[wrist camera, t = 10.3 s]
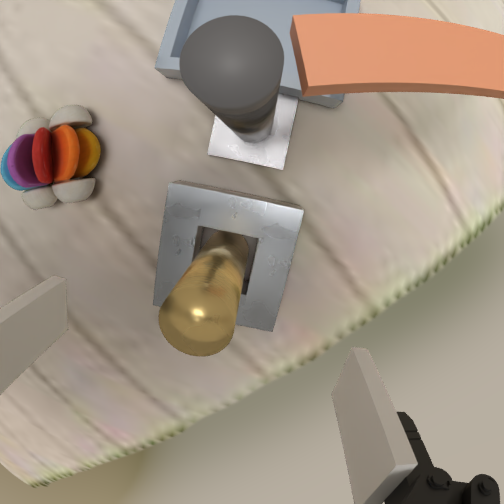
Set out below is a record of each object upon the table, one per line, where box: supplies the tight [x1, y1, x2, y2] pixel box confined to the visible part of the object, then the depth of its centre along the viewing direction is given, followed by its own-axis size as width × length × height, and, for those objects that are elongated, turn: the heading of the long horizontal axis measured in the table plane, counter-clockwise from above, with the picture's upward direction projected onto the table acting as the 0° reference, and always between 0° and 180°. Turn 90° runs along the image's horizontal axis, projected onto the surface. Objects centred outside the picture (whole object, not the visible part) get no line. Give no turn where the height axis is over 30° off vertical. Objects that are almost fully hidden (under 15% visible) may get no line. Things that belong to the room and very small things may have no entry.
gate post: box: [207, 82, 299, 170], centre depth 17 cm, size 6×6×16 cm
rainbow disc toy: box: [1, 105, 101, 210], centre depth 22 cm, size 8×10×7 cm
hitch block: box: [153, 180, 304, 332], centre depth 26 cm, size 10×10×3 cm
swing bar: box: [179, 13, 504, 115], centre depth 9 cm, size 3×18×3 cm, turn 99°
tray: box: [155, 0, 360, 108], centre depth 20 cm, size 14×11×3 cm
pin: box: [159, 230, 249, 356], centre depth 21 cm, size 4×4×13 cm
